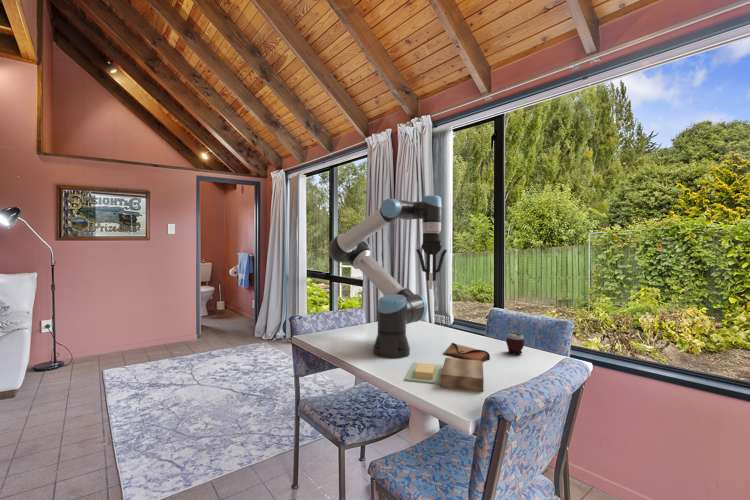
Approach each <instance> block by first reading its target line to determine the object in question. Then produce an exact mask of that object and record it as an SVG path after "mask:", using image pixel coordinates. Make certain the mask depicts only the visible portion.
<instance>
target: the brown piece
mask: <svg viewBox="0 0 750 500" xmlns="http://www.w3.org/2000/svg"><path fill="white" fill-rule="evenodd" d="M442 365H443V369H442V372H441V384H440V387H441V388H448V389H458V390H467V391H476V392H477V391H478V392H484V362H483V361H478V360H466V359H459V358H456V357H452V358H451V357H445V358H444V362H443V364H442Z"/></svg>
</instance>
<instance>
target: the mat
mask: <svg viewBox="0 0 750 500" xmlns="http://www.w3.org/2000/svg"><path fill="white" fill-rule="evenodd" d="M419 363H420V362H416V361H415V362H414V361H413V363H412V364H411V367H410V368H409V370H408V372H407V374H406V376H405V378H404V381H406V382H407V381H408V382H413V383H414V382H415V383H417V382H418V383H423V384H424V383H425V384H432V385H433V384H435V385H441V372H442V369H443V365H444V364H436V363H435V364H433V363H432V364H433V365H436V367H435V373H434V377H433V379H426V378H416V377H415V370H416V368H417V366H418V364H419ZM421 363H422V364H426V362H425V363H424V362H421Z"/></svg>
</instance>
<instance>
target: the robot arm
mask: <svg viewBox="0 0 750 500" xmlns="http://www.w3.org/2000/svg"><path fill="white" fill-rule="evenodd" d="M422 198H423V199H422V201H421V200H420V201H409V200H403V199H397V198H386V199H384V200H383V201H382V203H381V205H380V208H378V209H377V210H376V211H374V212H373V213H371V214H370V215H368V216H367V217H366V218H364V219H363V220H362V221H360V222H359V223H357V224H356V225H354V226H353V227H352V228H350V229H349V230H347V231H346V232H345V233H339V234H338V235H336V236H335V237H334V238H333V239H332V240H331V241H330V242H329V244H328V247H327V248H328V250H327V251H328V254H329V257H330V259H332V260H333V261H334V262H337V263H349V265H350V266H352V268H354V269H355V270H360V271H361V272H362V274H363V275H364V276H365V277H366V278H367V279H368V280H369V281H370V282H371V283H372V284H373V285H374V286H375V287H376V288H377V290H379V291H380V293H381V294H383V296H382V297H380V298H379V299H378V302H377V335H376V338H375V341H374V345H373V348H372V351H373V352H372V353H373V354H374V355H375V356H377V357H380V358H386V359H400V358H404V357H407V356H410V354H411V347H410V344H409V341H408V337H407V333H406V332H407V325H408V324H412V323H417V322H419V321H421V320H423V319H424V318H425V317H426V315H427V311H428V304H427V301H426V299H425V298H424V297H423V296H422V295H420V294H418V293H417V294H415V293H414V292H413V291H411V289H409V287H403V285H401V284H400V283H399V282H398V281H397V280H396V279H395V278H394V277H393V276H392V275H391V274H390V273H389V272H388V271H387V270H386V269H385V268H384V267H383V266H382V265H381V264H380V263H379V262H378V261H377V260H376V259H375V258H374V257H373V252H372V250H371V246H370V244H369V242H367V240H366V239H368V238H370V237H371V236H373V235H374V234H376V233H377V232H378V231H380V230H381V229H383V228H384V227H385V228H386V226H388V225H389V224H390V223H393V221H395V220H397V219H400V220H406V221H407V220H422V232H423V233H422V244H421V246H420V247H419V248H417V249H416V250H415V251H416V252H417V254H418V257H419V263H420V266H421V271H422V272H424V273H426V278H425V279H426V281H427V282H428V289H429V290H433V289H434V282H436V280H437V274H438V273H440V272H441V270H442V266H443V262H444V258H445V255H446V254H447V251H448V250H447V249H446V248H444V247H443V245H442V242H441V241H442V234H441V231H442V207H443V206H442V197H440V195H431V194H430V195H424V196H423V197H422ZM423 252H424V253H425V254H426V265H425V260H424V256H423ZM439 252H440V253H441V255H440V258H439V261H438V266H437V255H438V253H439ZM431 255H432V272H431Z"/></svg>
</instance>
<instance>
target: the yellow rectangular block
mask: <svg viewBox="0 0 750 500" xmlns="http://www.w3.org/2000/svg"><path fill="white" fill-rule="evenodd" d="M418 363H419V364H418V366H417V368H416V370H415V377H416V378H426V379H433V377H434V373H435V367H436V365H437V364H436V365H433V363H425V364H422V363H423V362H418Z"/></svg>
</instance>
